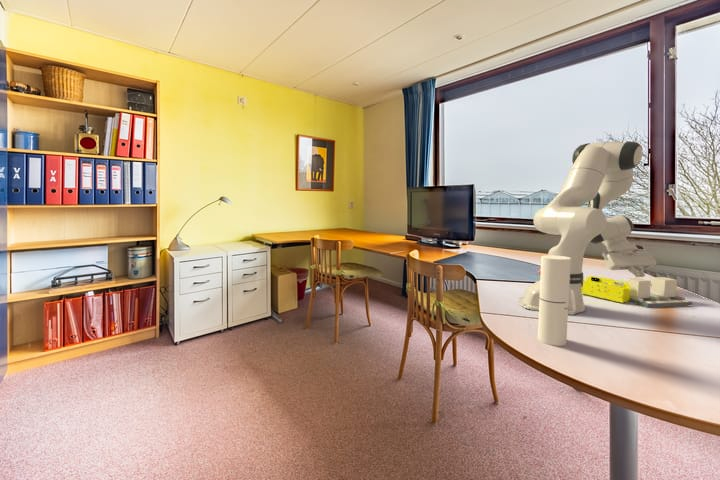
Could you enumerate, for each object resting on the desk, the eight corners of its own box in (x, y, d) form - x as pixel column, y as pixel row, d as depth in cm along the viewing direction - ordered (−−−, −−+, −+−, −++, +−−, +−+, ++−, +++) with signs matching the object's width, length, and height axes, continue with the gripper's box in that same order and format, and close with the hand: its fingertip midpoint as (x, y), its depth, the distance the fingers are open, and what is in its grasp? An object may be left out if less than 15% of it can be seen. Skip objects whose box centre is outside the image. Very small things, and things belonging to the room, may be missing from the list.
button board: (647, 307, 114) (647, 301, 114) (616, 297, 127) (617, 291, 127) (691, 305, 115) (692, 299, 115) (656, 296, 128) (657, 290, 128)
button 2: (663, 297, 120) (665, 280, 119) (648, 293, 126) (649, 276, 125) (675, 297, 120) (677, 279, 119) (659, 292, 126) (660, 276, 125)
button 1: (637, 298, 119) (638, 281, 118) (623, 294, 125) (624, 277, 125) (649, 298, 119) (650, 280, 119) (634, 293, 126) (635, 277, 125)
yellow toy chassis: (629, 302, 121) (631, 282, 120) (622, 304, 119) (623, 284, 118) (586, 292, 136) (587, 274, 135) (578, 294, 133) (579, 276, 132)
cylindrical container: (532, 336, 92) (535, 255, 90) (554, 334, 93) (558, 254, 90) (548, 346, 85) (552, 259, 83) (572, 345, 86) (577, 258, 83)
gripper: (605, 247, 137) (623, 273, 128) (647, 246, 138) (668, 271, 129) (596, 255, 142) (613, 281, 133) (637, 254, 143) (657, 279, 134)
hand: (641, 276), depth 131 cm, fingers closed
